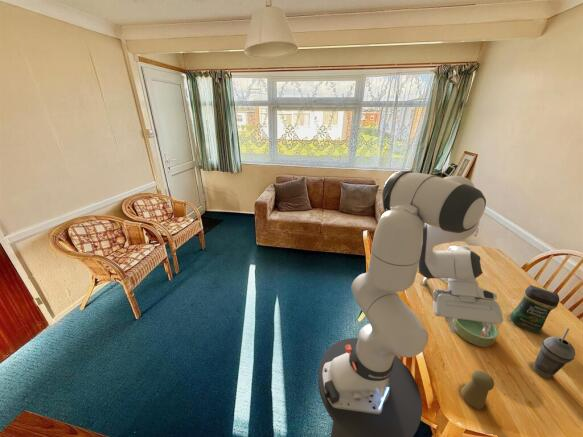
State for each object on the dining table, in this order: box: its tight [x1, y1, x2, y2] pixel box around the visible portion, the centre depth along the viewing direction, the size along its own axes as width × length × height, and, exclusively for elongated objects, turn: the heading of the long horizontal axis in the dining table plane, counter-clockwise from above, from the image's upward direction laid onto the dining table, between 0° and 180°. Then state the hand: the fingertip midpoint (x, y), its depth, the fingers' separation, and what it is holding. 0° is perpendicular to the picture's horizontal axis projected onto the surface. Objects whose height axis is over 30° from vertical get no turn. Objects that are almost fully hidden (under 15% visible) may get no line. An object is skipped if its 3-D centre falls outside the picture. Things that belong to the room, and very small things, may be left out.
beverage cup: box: [532, 327, 576, 379], centre depth 76 cm, size 7×7×20 cm
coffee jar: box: [510, 284, 560, 333], centre depth 94 cm, size 10×8×19 cm
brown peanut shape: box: [460, 369, 495, 410], centre depth 70 cm, size 6×6×11 cm
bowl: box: [451, 318, 499, 348], centre depth 93 cm, size 14×14×5 cm
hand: (469, 334), depth 76 cm, fingers open, 8 cm apart
